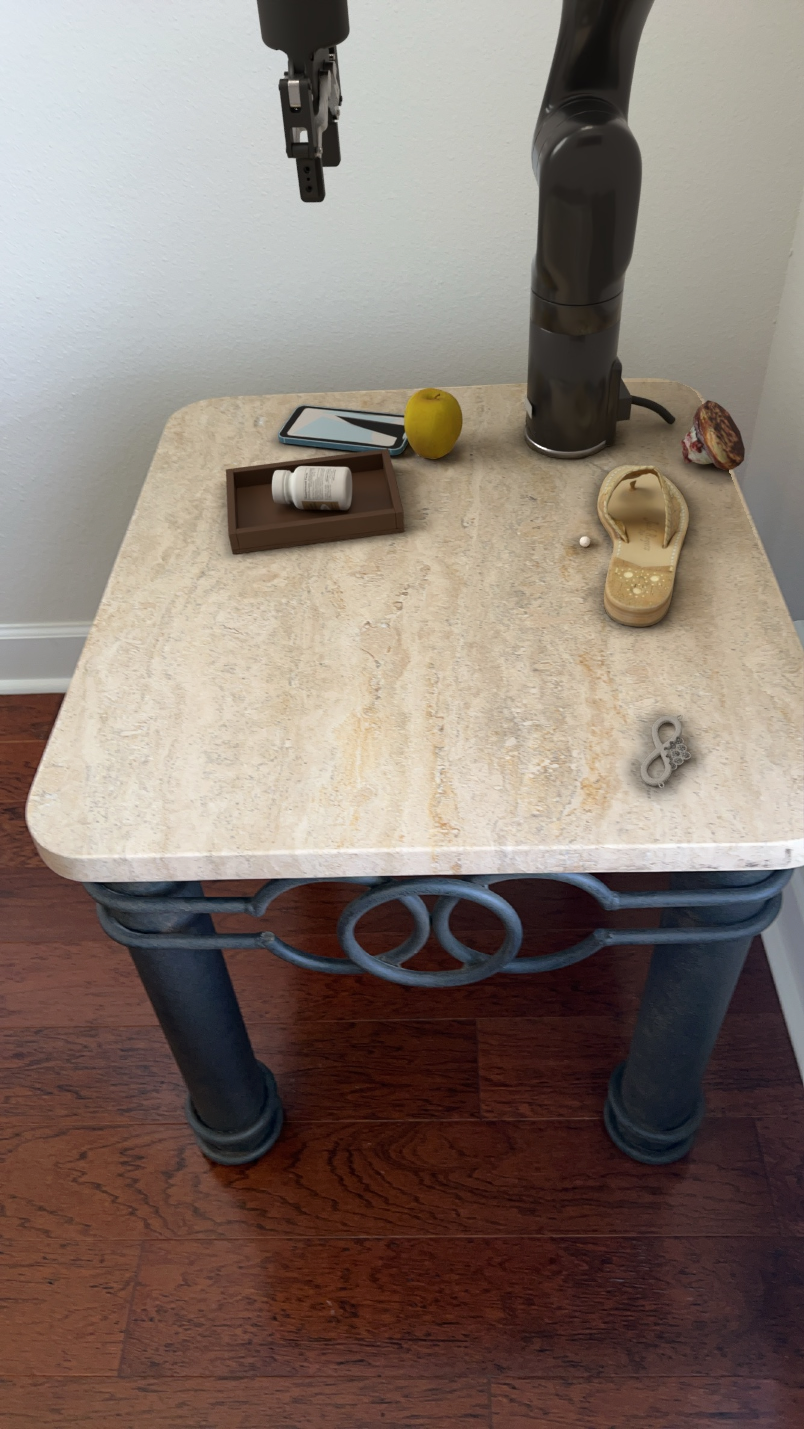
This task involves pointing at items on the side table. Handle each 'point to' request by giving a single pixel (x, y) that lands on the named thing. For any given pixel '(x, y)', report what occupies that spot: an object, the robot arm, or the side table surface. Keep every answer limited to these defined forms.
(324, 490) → the pill bottle
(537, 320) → the robot arm
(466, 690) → the side table surface
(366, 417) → the smartphone
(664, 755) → the charm
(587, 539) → the sphere
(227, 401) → the side table surface
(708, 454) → the pastry
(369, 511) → the tray
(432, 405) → the apple
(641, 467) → the sandal
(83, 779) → the side table surface
